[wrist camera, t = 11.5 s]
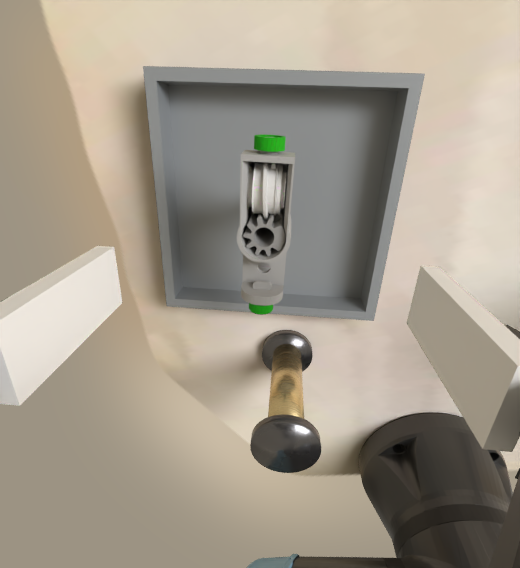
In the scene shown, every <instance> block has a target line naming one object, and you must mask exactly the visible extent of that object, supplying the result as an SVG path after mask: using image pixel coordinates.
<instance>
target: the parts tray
mask: <svg viewBox="0 0 520 568" xmlns="http://www.w3.org/2000/svg"><path fill="white" fill-rule="evenodd" d="M143 70H144V80H145V91H146V101H147V111H148V121H149V131H150V141H151V152H152V162H153V172H154V182H155V192H156V203H157V213H158V223H159V233H160V243H161V253H162V264H163V274H164V284H165V294H166V304H167V306H170V307H184V308H199V309H213V310H227V311H241V312H251V311H250V309H249V303H248V302H246V301H244V300H243V299H242V297H241V285H242V279H243V254H241V250H240V249H239V246H238V243H237V232H238V229H239V226H240V169H241V153H242V152H243V151H244V150H255V149H254V135H261V134H265V135H280V136H285V137H286V140H285V151H280V152H290V153H295V165H294V176H293V188H292V199H291V210H290V215H291V241H290V246H289V249H288V251H287V253H286V263H285V275H284V286H283V297H282V300H281V301H280V302H279V303H277V304H274V305H273V310H272V311H271V312H270V314H284V315H299V316H313V317H327V318H341V319H356V320H370V321H374V317H375V312H376V307H377V302H378V298H379V293H380V288H381V283H382V278H383V273H384V269H385V264H386V259H387V254H388V249H389V244H390V240H391V235H392V230H393V225H394V220H395V215H396V211H397V206H398V201H399V196H400V191H401V186H402V182H403V177H404V172H405V167H406V162H407V157H408V153H409V148H410V143H411V138H412V133H413V128H414V124H415V119H416V114H417V109H418V104H419V99H420V94H421V90H422V85H423V80H424V75H425V74H417V73H380V72H342V71H305V70H267V69H229V68H192V67H154V66H143ZM256 151H259V150H256Z"/></svg>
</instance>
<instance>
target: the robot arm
mask: <svg viewBox="0 0 520 568" xmlns="http://www.w3.org/2000/svg"><path fill="white" fill-rule="evenodd" d="M121 303H122V298H121V290H120V284H119V277H118V271H117V264H116V257H115V250H114V247H108V246H96V247H95V248H93V249H91V250H89V251H88V252H86V253H84V254H82V255H81V256H79V257H77V258H75V259H74V260H72V261H70V262H69V263H67V264H65V265H64V266H62V267H60V268H59V269H57V270H55V271H53V272H51V273H50V274H48V275H46V276H45V277H43V278H41V279H39V280H38V281H36V282H34V283H33V284H31V285H29V286H27V287H26V288H24V289H22V290H21V291H19V292H17V293H15V294H14V295H12V296H10V297H8V298H6V299H4V300H3V301H1V302H0V404H9V405H21V404H22V403H23V402H24V401H25V400H26V399H27V398H28V397H29V396H30V395H31V394H32V393H33V392H34V391H35V390H36V389H37V388H38V387H39V386H40V385H41V384H42V383H43V382H44V381H45V380H46V379H47V378H48V377H49V376H50V375H51V374H52V373H53V372H54V371H55V370H56V369H57V367H59V365H61V364H62V363H63V362H64V361H65V360H66V359H67V357H69V356H70V355H71V353H73V352H74V351H75V350H76V349H77V348H78V347H79V346H80V345H81V344H82V343H83V342H84V341H85V340H86V339H87V338H88V337H89V336H90V335H91V334H92V333H93V332H94V331H95V330H96V329H97V327H99V326H100V325H101V323H103V322H104V320H106V318H107V317H109V316H110V314H112V313H113V311H114V310H116V309H117V308H118V307H119V306H120V305H121ZM407 324H408V326H409V328H410V329H411V331H412V333H413V334H414V336H415V338H416V339H417V341H418V343H419V344H420V346H421V348H422V349H423V351H424V353H425V354H426V356H427V358H428V359H429V361H430V363H431V364H432V366H433V368H434V369H435V371H436V373H437V374H438V376H439V378H440V379H441V381H442V383H443V384H444V386H445V388H446V389H447V391H448V393H449V394H450V396H451V398H452V399H453V401H454V402H455V404H456V406H457V407H458V409H459V411H460V412H461V414H462V416H463V417H464V418H463V417H459V416H455V415H450V414H442V413H426V414H417V415H412V416H408V417H404V418H401V419H398V420H395V421H393V422H391V423H389V424H387V425H385V426H383V427H382V428H380V429H379V430H377V431H376V432H375V433H374V434H373V435H372V436H370V438H369V439H368V440H367V441H366V442H365V444H364V446H363V447H362V450H361V452H360V456H359V468H360V473H361V478H362V483H363V486H364V489H365V491H366V493H367V495H368V497H369V499H370V501H371V503H372V504H373V506H374V508H375V510H376V512H377V513H378V515H379V517H380V519H381V521H382V522H383V524H384V526H385V528H386V530H387V531H388V533H389V535H390V537H391V538H392V542H393V545H394V549H395V553H396V557H397V558H366V557H365V558H364V557H362V558H361V557H299V555H298V554H292V555H291V556H290V557H276V558H261V559H258V560H255V561H254V562H252V563H251V564H250V565H249V566H248V567H247V568H520V469H519V471H518V473H517V475H516V476H515V478H517V479H518V481H517V484H516V487H515V490H514V493H513V492H512V489H511V484H510V480H509V475H508V471H507V467H506V463H505V460H504V458H503V456H502V454H501V452H500V451H509V452H512V451H513V449H514V447H515V445H516V443H517V441H518V439H519V437H520V332H519V331H517V330H516V329H514V328H512V327H510V326H508V325H503V324H502V323H501V322H500V321H499V320H498V319H497V318H496V317H495V316H493V315H492V314H491V313H490V312H489V311H488V310H487V309H486V308H485V307H484V306H482V305H481V304H480V303H479V302H478V301H477V300H476V299H475V298H474V297H473V296H471V295H470V294H469V293H468V292H467V291H466V290H465V289H464V288H463V287H462V286H460V285H459V284H458V283H457V282H456V281H455V280H454V279H453V278H452V277H450V276H449V275H448V274H447V273H446V272H445V271H444V270H443V269H442V268H441V267H434V266H421V267H420V271H419V275H418V279H417V283H416V287H415V291H414V295H413V300H412V304H411V308H410V312H409V316H408V320H407Z"/></svg>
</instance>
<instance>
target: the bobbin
mask: <svg viewBox="0 0 520 568" xmlns="http://www.w3.org/2000/svg"><path fill="white" fill-rule="evenodd" d="M262 358H263V361H264V363H265V365H266V366H267V367H268V368H269V369H270V370H271V371H272V374H271V387H270V400H269V413H268V418H265V419H263V420H262V421H260V422H259V423H258V424H257V425H256V426H255V428H254V430H253V432H252V438H251V452H252V455H253V456H254V458H255V459H256V460H257V461H258V462H259V463H260V464H261V465H263V466H264V467H266V468H268V469H271V470H273V471H277V472H284V473H293V472H299V471H302V470H305V469H307V468H309V467H311V466H312V465H314V464H315V463H316V462H317V460H318V459H319V457H320V454H321V444H320V436H319V433H318V431H317V429H316V428H315V427H314V426H313V425H312V424H311V423H310V422H308V421H307V420H305V419H304V409H303V387H302V371H304V370H305V369H306V368H307V367H308V366H309V365H310V363H311V361H312V347H311V344H310V342H309V341H308V339H307V338H306V337H305V336H304V335H302V334H300V333H298V332H296V331H292V330H281V331H278V332H275V333H273V334H271V335H270V336H269V337H268V338H267V339H266V340H265V342H264V345H263V350H262Z"/></svg>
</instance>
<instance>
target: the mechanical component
mask: <svg viewBox="0 0 520 568" xmlns="http://www.w3.org/2000/svg"><path fill="white" fill-rule="evenodd" d="M285 140H286V137H285V136H280V135H265V134H261V135H254V149H255V150H244V151H243V152H242V153H241V169H240V226H239V229H238V232H237V243H238V246H239V249H240V250H241V254H243V279H242V285H241V297H242V299H243V300H244V301H246V302H248V303H249V309H250V311H251V312H253V313H255V314H268V313H270V312H271V311H272V310H273V305H274V304H277V303H279V302H280V301H281V300H282V297H283V286H284V275H285V263H286V253H287V251H288V249H289V246H290V241H291V215H290V210H291V199H292V188H293V176H294V165H295V153H290V152H280V151H285ZM256 150H259V151H256Z"/></svg>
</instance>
